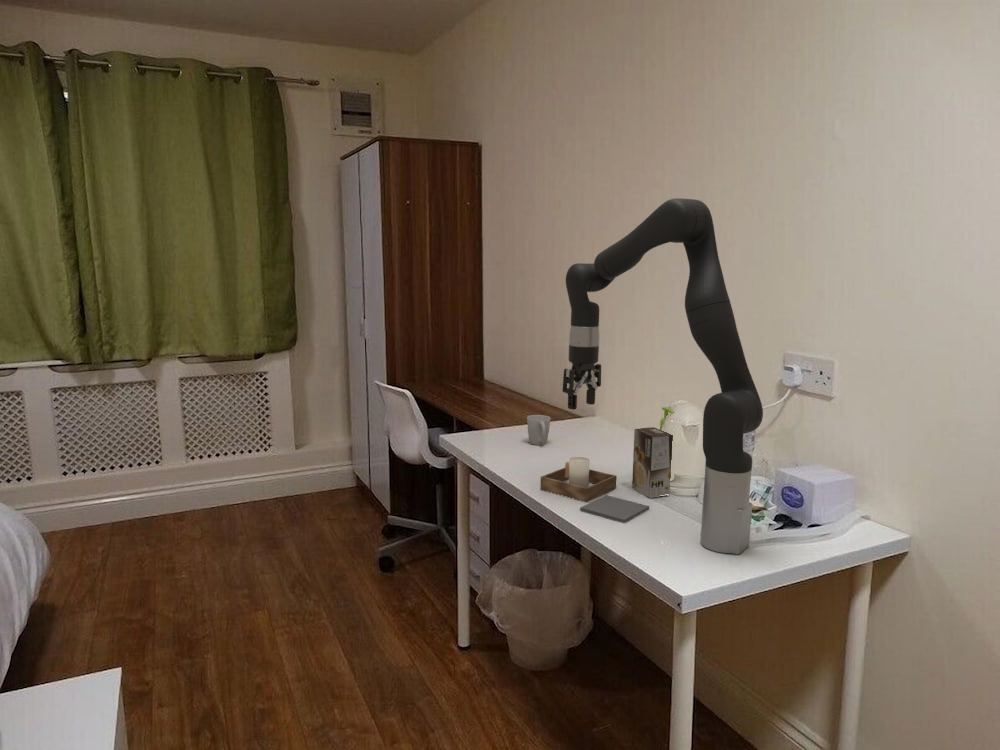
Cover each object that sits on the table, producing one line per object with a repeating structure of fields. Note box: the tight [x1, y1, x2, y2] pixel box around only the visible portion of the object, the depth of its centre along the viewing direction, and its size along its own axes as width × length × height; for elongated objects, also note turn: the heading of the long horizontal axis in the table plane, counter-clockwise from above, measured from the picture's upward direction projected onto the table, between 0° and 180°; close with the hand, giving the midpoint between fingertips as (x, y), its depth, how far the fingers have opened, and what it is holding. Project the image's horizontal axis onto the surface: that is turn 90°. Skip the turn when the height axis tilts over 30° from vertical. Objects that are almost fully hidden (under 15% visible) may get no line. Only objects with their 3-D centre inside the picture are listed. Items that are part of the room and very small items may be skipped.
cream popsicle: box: [564, 456, 591, 488], centre depth 186 cm, size 7×5×8 cm
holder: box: [539, 467, 617, 503], centre depth 186 cm, size 14×14×4 cm
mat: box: [579, 494, 650, 524], centre depth 171 cm, size 12×12×1 cm
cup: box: [526, 414, 551, 446], centre depth 229 cm, size 8×10×8 cm
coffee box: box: [631, 426, 673, 499], centre depth 184 cm, size 9×6×16 cm
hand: (581, 406), depth 182 cm, fingers open, 8 cm apart
